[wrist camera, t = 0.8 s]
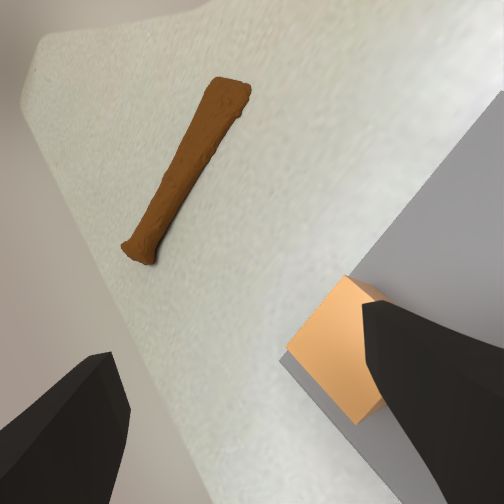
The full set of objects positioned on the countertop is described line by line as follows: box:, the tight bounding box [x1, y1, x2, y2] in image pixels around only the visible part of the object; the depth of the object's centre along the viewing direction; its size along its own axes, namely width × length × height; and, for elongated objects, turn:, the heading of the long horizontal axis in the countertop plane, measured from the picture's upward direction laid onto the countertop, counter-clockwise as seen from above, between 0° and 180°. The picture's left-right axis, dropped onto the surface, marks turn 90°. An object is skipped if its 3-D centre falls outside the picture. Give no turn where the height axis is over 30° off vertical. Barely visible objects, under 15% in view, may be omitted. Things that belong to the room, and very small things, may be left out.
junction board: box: [279, 91, 504, 504], centre depth 19 cm, size 14×21×4 cm, turn 136°
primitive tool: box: [121, 77, 251, 265], centre depth 35 cm, size 19×6×4 cm, turn 149°
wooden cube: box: [286, 275, 396, 425], centre depth 20 cm, size 5×5×5 cm
